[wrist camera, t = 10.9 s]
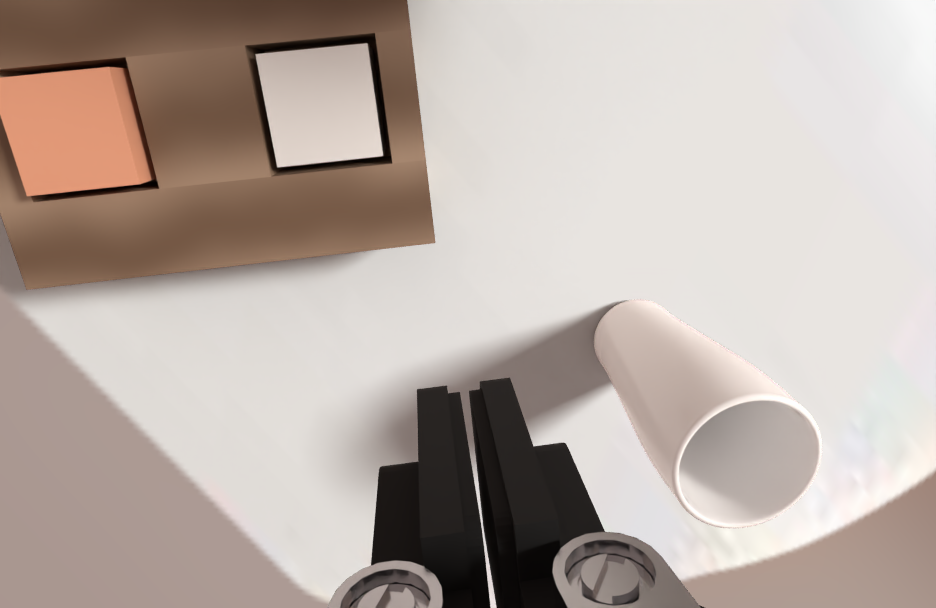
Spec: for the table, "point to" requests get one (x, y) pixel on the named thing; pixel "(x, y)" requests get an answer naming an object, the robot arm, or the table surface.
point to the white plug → (322, 104)
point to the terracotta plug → (75, 130)
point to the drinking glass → (708, 417)
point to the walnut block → (213, 140)
